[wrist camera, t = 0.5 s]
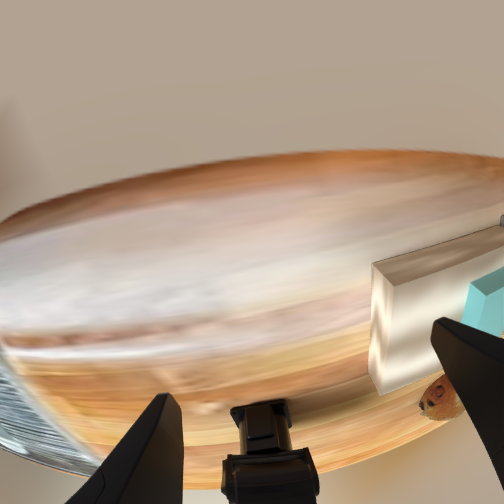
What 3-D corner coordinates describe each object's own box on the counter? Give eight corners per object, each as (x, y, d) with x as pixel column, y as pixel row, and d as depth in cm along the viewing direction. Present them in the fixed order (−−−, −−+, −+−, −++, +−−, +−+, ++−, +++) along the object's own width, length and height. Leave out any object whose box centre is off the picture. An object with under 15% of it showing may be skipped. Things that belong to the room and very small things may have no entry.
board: (478, 322, 27) (494, 338, 24) (367, 371, 28) (380, 396, 24) (498, 225, 22) (521, 237, 18) (371, 263, 22) (393, 286, 19)
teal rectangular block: (486, 332, 23) (497, 344, 21) (451, 352, 23) (463, 366, 21) (504, 266, 19) (519, 277, 17) (469, 282, 19) (486, 296, 17)
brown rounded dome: (435, 387, 38) (464, 408, 32) (405, 419, 34) (437, 445, 27) (456, 348, 34) (491, 369, 28) (429, 379, 30) (469, 407, 23)
